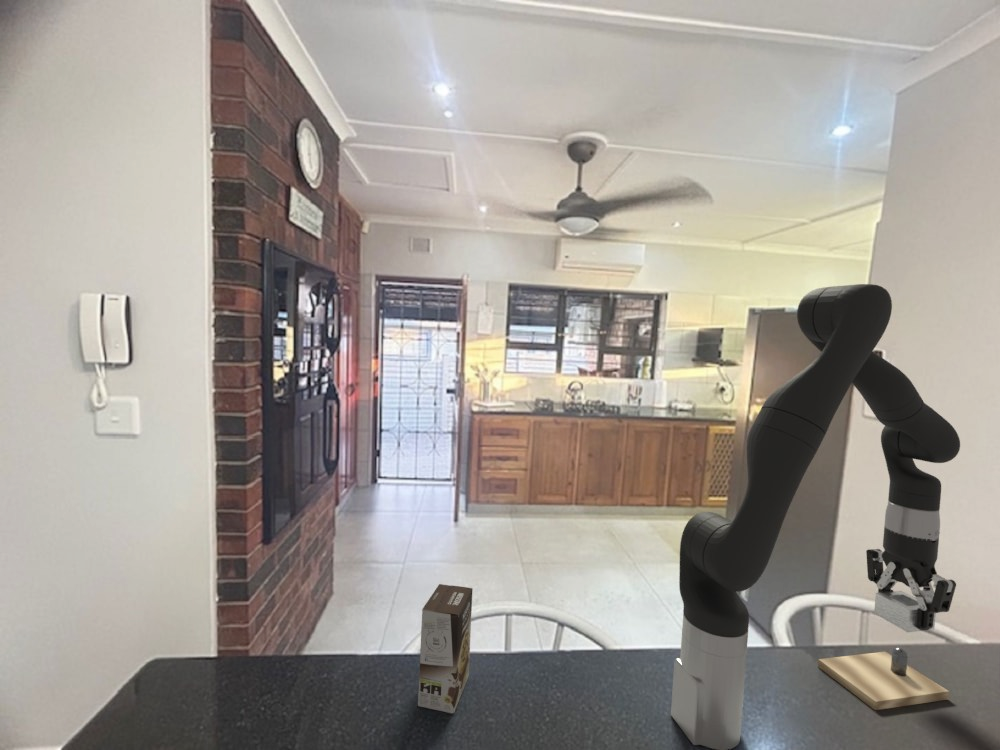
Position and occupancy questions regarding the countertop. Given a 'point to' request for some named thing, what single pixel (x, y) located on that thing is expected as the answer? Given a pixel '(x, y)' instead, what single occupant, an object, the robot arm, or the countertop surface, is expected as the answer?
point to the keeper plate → (883, 679)
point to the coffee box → (445, 647)
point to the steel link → (899, 610)
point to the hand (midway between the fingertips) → (903, 618)
